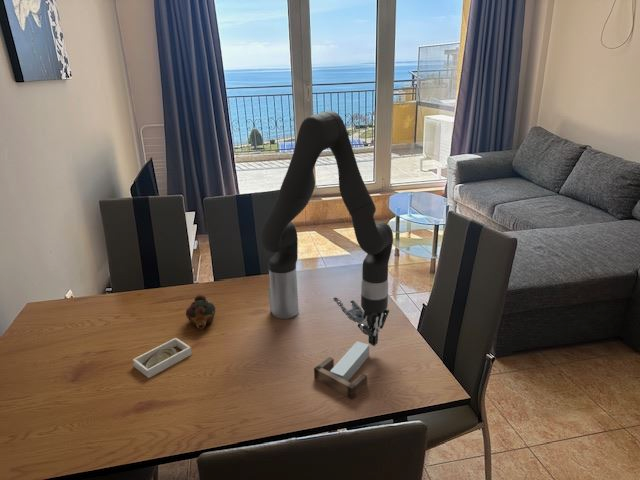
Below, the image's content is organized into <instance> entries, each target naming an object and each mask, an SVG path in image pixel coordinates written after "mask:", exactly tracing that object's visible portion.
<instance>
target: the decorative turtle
mask: <svg viewBox="0 0 640 480" xmlns="http://www.w3.org/2000/svg"><path fill="white" fill-rule="evenodd" d="M215 315H216V306H215V304H213V302H211V301H209V300H207V297H206V295H205V294H203V293H201V292H200V293H198V294H196V295H195V297H194V301H193V302H191V303H190V304H189V305H188V306H187V308H186V311H185V316H186V318H187V319H188V320H189V322H190V323H191V325H193V326H194V327H195V326H196V328H197V329H199V330H200V329H201V330H203V329H204V328H205V327H206V325H207V324H211V323H212V322H213V320H214V317H215Z"/></svg>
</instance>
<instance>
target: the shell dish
mask: <svg viewBox="0 0 640 480" xmlns="http://www.w3.org/2000/svg"><path fill="white" fill-rule="evenodd" d="M167 347H172V348H175V347H177V348H179V349H180V350H181V351H178V353H177V354H175V355H173V356H171V357H169V358H167V359H166V360H164V361H162V362H160V363H158V364H156V365H154V366H152V367H150V368H148V369H147V368H146V367H145V366H144V365H143V364H144V363H145V361H146V360H147V359H148V358H150V356H152V355H153V354H154V353H155V352H157V351H159V350H161V349H165V348H167ZM192 354H193V352H192V347H191V346H190V345H188V344H186V343H185V342H184V341H182V340H181V339H178V337H174V338H172V339H170V340H168V341H166V342H164V343H162V344H161V345H158V346H157V347H155V348H153V349H150V350H148V351H147V352H145V353H142V354H141V355H139V356H136V357H135V358H133V359H132V363H133V368H135V369H137V370H138V371H139V372H140V373H141V374H142V375H144V376H145V377H147V379H149V378H152V377H154V376H155V375H157V374H160V373H161V372H163V371H164V370H166V369H168V368H169V367H172V366H174V365H175V364H177V363H179V362H181V361H182V360H185V359H186V358H187V357H190V356H192Z"/></svg>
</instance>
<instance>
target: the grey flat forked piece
mask: <svg viewBox="0 0 640 480" xmlns="http://www.w3.org/2000/svg"><path fill="white" fill-rule="evenodd" d="M332 299H333V300H334V301H335V302H336V303H337V302H338V301H340V302H338V303H337V304H338V305H339V304H340V305H339V307H340V308H341V309H342V311H343V312H344V313H345V315H346V316H347V317H348V318H349V319H350V320H352V321H353V322H354V323H358V324H359V323H361V324H362V322H363V320H364V319H363V315H364V310H363V308H362V307H361V306H360V305H359V304H358V303H357V302H356V301H355V300H352V301H351V300H350V303H352V305H351V308H350V309H347V308H346V307H345V306H344V302H342V300H341V299H340V300H339V298H338V297H335V296H334V297H333V298H332Z"/></svg>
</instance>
